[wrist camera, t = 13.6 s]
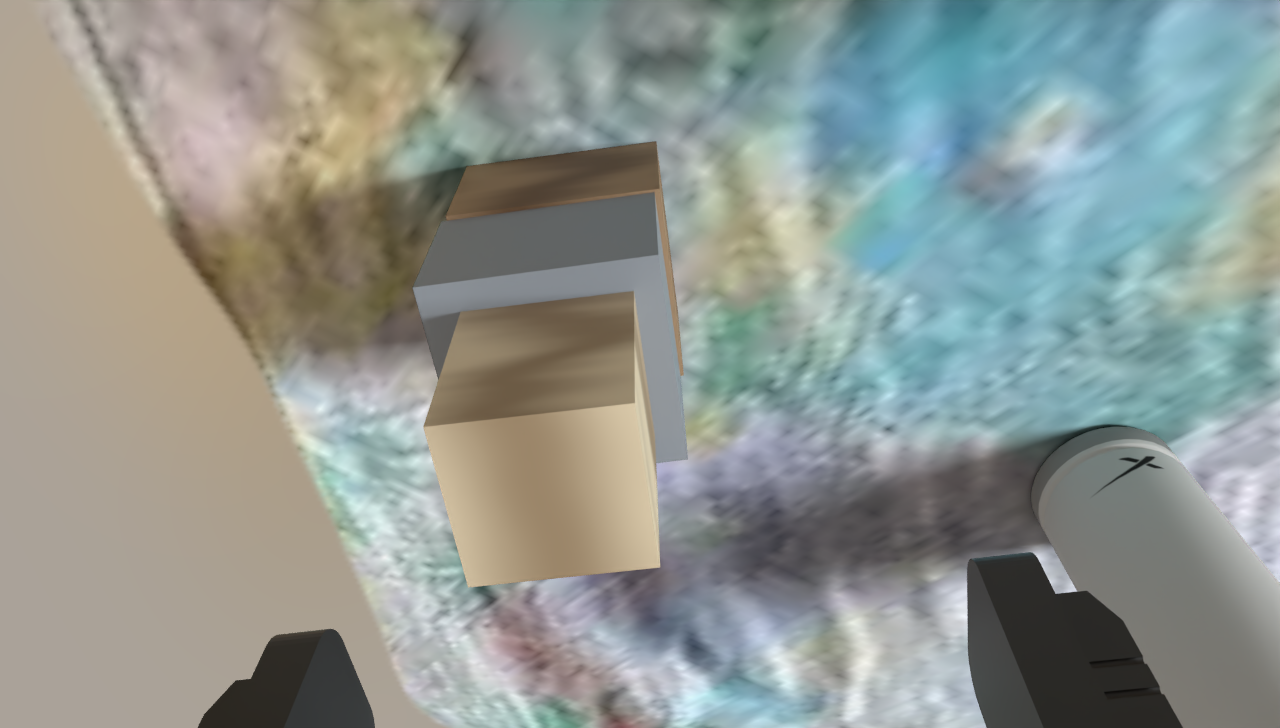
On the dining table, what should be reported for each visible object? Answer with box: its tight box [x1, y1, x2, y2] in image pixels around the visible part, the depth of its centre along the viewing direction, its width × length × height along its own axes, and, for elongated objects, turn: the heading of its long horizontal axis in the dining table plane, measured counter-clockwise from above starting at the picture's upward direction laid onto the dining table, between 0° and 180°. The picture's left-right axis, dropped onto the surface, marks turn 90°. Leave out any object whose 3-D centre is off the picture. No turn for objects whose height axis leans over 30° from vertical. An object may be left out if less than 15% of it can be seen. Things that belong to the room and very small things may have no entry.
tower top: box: [413, 192, 688, 463], centre depth 32 cm, size 7×7×5 cm
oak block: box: [424, 291, 660, 587], centre depth 27 cm, size 5×5×6 cm
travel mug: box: [1031, 427, 1280, 728], centre depth 36 cm, size 6×7×20 cm
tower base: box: [446, 142, 684, 376], centre depth 36 cm, size 7×7×5 cm
